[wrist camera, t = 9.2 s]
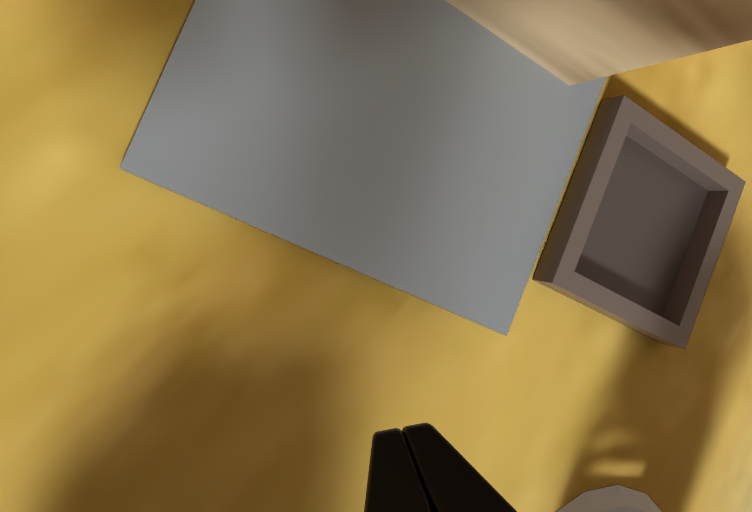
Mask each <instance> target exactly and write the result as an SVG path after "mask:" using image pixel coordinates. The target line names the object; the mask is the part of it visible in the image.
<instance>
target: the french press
mask: <svg viewBox="0 0 752 512" xmlns="http://www.w3.org/2000/svg"><path fill="white" fill-rule="evenodd" d="M557 512H662V511H661V510H660V509H659V508H658V507H657V506H656V504H655V503H654V502H653V501H652V500H651V499H650V498H649V496H648V495H647V494H645V493H642V492H639V491H636V490H633V489H630V488H626V487H623V486H620V485H614V486H609V487H605V488H600V489H596V490H591V491H586V492H583V493H582V494H581V495H579V496H578V497H576V498H575V499H574V500H572V501H571V502H569V503H568V504H566V505H565V506H564V507H562V508H561V509H559V510H558V511H557Z"/></svg>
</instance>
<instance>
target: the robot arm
mask: <svg viewBox="0 0 752 512" xmlns="http://www.w3.org/2000/svg"><path fill="white" fill-rule="evenodd" d="M364 512H517V511H516V510H515V509H514V508H513V507H512V506H511V505H510V504H509V503H508V502H507V501H506V500H505V499H504V498H503V497H502V496H501V495H500V494H499V493H498V492H497V491H496V490H495V489H494V488H493V487H492V486H491V485H490V484H489V483H488V482H487V481H486V480H485V479H484V478H483V477H482V476H481V475H480V474H479V473H478V472H477V470H476V469H475V468H474V467H473V466H472V465H471V464H470V463H469V462H468V461H467V460H466V459H465V458H464V457H463V456H462V455H461V454H460V453H459V452H458V451H457V450H456V449H455V448H454V447H453V446H452V445H451V444H450V443H449V442H448V441H447V440H446V439H445V438H444V437H443V436H442V435H441V434H440V433H439V432H438V431H437V430H436V429H435V428H434V427H433V426H432V425H431V424H428V423H421V424H416V425H410V426H406V427H404V428H403V429H402V431H401V430H400V429H398V428H394V429H389V430H383V431H378V432H375V433H374V435H373V439H372V447H371V456H370V464H369V473H368V482H367V490H366V499H365V508H364Z"/></svg>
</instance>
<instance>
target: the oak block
mask: <svg viewBox="0 0 752 512" xmlns="http://www.w3.org/2000/svg"><path fill="white" fill-rule="evenodd" d="M446 1H447V2H448V3H450V4H451V5H453V6H454V7H456V8H457V9H459V10H460V11H462V12H463V13H464V14H466V15H467V16H469V17H470V18H472V19H473V20H475V21H476V22H478V23H479V24H481V25H482V26H483V27H485V28H486V29H488V30H489V31H491V32H492V33H494V34H495V35H497V36H498V37H499V38H501V39H502V40H504V41H505V42H507V43H508V44H510V45H511V46H513V47H514V48H515V49H517V50H518V51H520V52H521V53H523V54H524V55H526V56H527V57H529V58H530V59H532V60H533V61H534V62H536V63H537V64H539V65H540V66H542V67H543V68H545V69H546V70H548V71H549V72H550V73H552V74H553V75H555V76H556V77H558V78H559V79H561V80H562V81H564V82H565V83H567V84H568V85H569V86H570V85H574V84H578V83H582V82H586V81H590V80H594V79H598V78H602V77H606V76H610V75H614V74H618V73H622V72H626V71H630V70H634V69H637V68H641V67H645V66H649V65H653V64H657V63H661V62H665V61H669V60H673V59H677V58H681V57H685V56H689V55H693V54H697V53H701V52H705V51H709V50H713V49H717V48H721V47H725V46H728V45H732V44H736V43H740V42H744V41H748V40H752V0H446Z"/></svg>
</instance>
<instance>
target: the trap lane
mask: <svg viewBox="0 0 752 512" xmlns="http://www.w3.org/2000/svg"><path fill="white" fill-rule="evenodd" d="M606 77H607V76H606ZM606 77H602V78H598V79H594V80H590V81H586V82H582V83H578V84H574V85H570V86H569V85H568V84H567V83H565V82H564V81H562V80H561V79H559V78H558V77H556V76H555V75H553V74H552V73H550V72H549V71H548V70H546V69H545V68H543V67H542V66H540V65H539V64H537V63H536V62H534V61H533V60H532V59H530V58H529V57H527V56H526V55H524V54H523V53H521V52H520V51H518V50H517V49H515V48H514V47H513V46H511V45H510V44H508V43H507V42H505V41H504V40H502V39H501V38H499V37H498V36H497V35H495V34H494V33H492V32H491V31H489V30H488V29H486V28H485V27H483V26H482V25H481V24H479V23H478V22H476V21H475V20H473V19H472V18H470V17H469V16H467V15H466V14H464V13H463V12H462V11H460V10H459V9H457V8H456V7H454V6H453V5H451V4H450V3H448V2H447V1H446V0H195V2H194V4H193V7H192V9H191V11H190V13H189V15H188V18H187V20H186V22H185V24H184V26H183V29H182V31H181V33H180V35H179V37H178V40H177V42H176V44H175V46H174V49H173V51H172V53H171V55H170V57H169V60H168V62H167V64H166V66H165V68H164V71H163V73H162V75H161V77H160V79H159V82H158V84H157V86H156V88H155V91H154V93H153V95H152V97H151V99H150V102H149V104H148V106H147V108H146V110H145V113H144V115H143V117H142V119H141V121H140V124H139V126H138V128H137V130H136V133H135V135H134V137H133V139H132V141H131V144H130V146H129V148H128V150H127V152H126V155H125V157H124V159H123V161H122V163H121V166H120V168H119V169H122V170H124V171H126V172H129V173H131V174H133V175H136V176H138V177H140V178H143V179H145V180H147V181H150V182H152V183H154V184H156V185H159V186H161V187H163V188H166V189H168V190H170V191H173V192H175V193H177V194H180V195H182V196H184V197H186V198H189V199H191V200H193V201H196V202H198V203H200V204H203V205H205V206H207V207H210V208H212V209H214V210H216V211H219V212H221V213H223V214H226V215H228V216H230V217H233V218H235V219H237V220H240V221H242V222H244V223H247V224H249V225H251V226H253V227H256V228H258V229H260V230H263V231H265V232H267V233H270V234H272V235H274V236H277V237H279V238H281V239H283V240H286V241H288V242H290V243H293V244H295V245H297V246H300V247H302V248H304V249H307V250H309V251H311V252H313V253H316V254H318V255H320V256H323V257H325V258H327V259H330V260H332V261H334V262H337V263H339V264H341V265H344V266H346V267H348V268H350V269H353V270H355V271H357V272H360V273H362V274H364V275H367V276H369V277H371V278H374V279H376V280H378V281H380V282H383V283H385V284H387V285H390V286H392V287H394V288H397V289H399V290H401V291H404V292H406V293H408V294H410V295H413V296H415V297H417V298H420V299H422V300H424V301H427V302H429V303H431V304H434V305H436V306H438V307H441V308H443V309H445V310H447V311H450V312H452V313H454V314H457V315H459V316H461V317H464V318H466V319H468V320H471V321H473V322H475V323H477V324H480V325H482V326H484V327H487V328H489V329H491V330H494V331H496V332H498V333H501V334H503V335H506V336H507V333H508V330H509V328H510V325H511V323H512V320H513V318H514V315H515V312H516V310H517V307H518V305H519V302H520V299H521V297H522V294H523V292H524V289H525V287H526V284H527V281H528V279H529V276H530V274H531V271H532V268H533V266H534V263H535V261H536V258H537V256H538V253H539V250H540V248H541V245H542V243H543V240H544V237H545V235H546V232H547V230H548V227H549V225H550V222H551V219H552V217H553V214H554V212H555V209H556V206H557V204H558V201H559V199H560V196H561V193H562V191H563V188H564V186H565V183H566V181H567V178H568V175H569V173H570V170H571V168H572V165H573V162H574V160H575V157H576V155H577V152H578V150H579V147H580V144H581V142H582V139H583V137H584V134H585V131H586V129H587V126H588V124H589V121H590V119H591V116H592V113H593V111H594V108H595V106H596V103H597V100H598V98H599V95H600V93H601V90H602V88H603V85H604V82H605V80H606ZM744 185H745V181H744V180H742V179H741V178H740V177H738V176H737V175H735V174H734V173H733V172H731V171H730V170H728V169H727V168H726V167H724V166H723V165H721V164H720V163H719V162H717V161H716V160H714V159H713V158H712V157H710V156H709V155H707V154H706V153H705V152H703V151H702V150H700V149H699V148H698V147H696V146H695V145H693V144H692V143H691V142H689V141H688V140H686V139H685V138H684V137H682V136H681V135H679V134H678V133H677V132H675V131H674V130H672V129H671V128H670V127H668V126H667V125H665V124H664V123H663V122H661V121H660V120H658V119H657V118H656V117H654V116H653V115H651V114H650V113H648V112H647V111H646V110H644V109H643V108H641V107H640V106H639V105H637V104H636V103H634V102H633V101H632V100H630V99H629V98H627V97H626V96H625V95H623V96H618V97H613V98H608V99H604V100H602V101H601V104H600V106H599V109H598V111H597V114H596V116H595V119H594V122H593V124H592V127H591V129H590V132H589V135H588V137H587V140H586V142H585V145H584V148H583V150H582V153H581V155H580V158H579V160H578V163H577V166H576V168H575V171H574V173H573V176H572V179H571V181H570V184H569V186H568V189H567V192H566V194H565V197H564V199H563V202H562V204H561V207H560V210H559V212H558V215H557V217H556V220H555V223H554V225H553V228H552V230H551V233H550V235H549V238H548V241H547V243H546V246H545V248H544V251H543V254H542V256H541V259H540V261H539V264H538V267H537V269H536V272H535V274H534V277H533V279H532V280H534V281H537V282H539V283H541V284H543V285H545V286H547V287H549V288H551V289H553V290H555V291H557V292H559V293H561V294H563V295H565V296H567V297H569V298H571V299H573V300H575V301H577V302H579V303H581V304H583V305H585V306H587V307H589V308H591V309H593V310H595V311H597V312H599V313H601V314H603V315H606V316H608V317H610V318H612V319H614V320H616V321H618V322H620V323H622V324H624V325H626V326H628V327H630V328H632V329H634V330H636V331H638V332H640V333H642V334H644V335H646V336H648V337H650V338H652V339H654V340H656V341H658V342H660V343H662V344H666V345H670V346H674V347H678V348H682V349H685V348H686V345H687V343H688V340H689V337H690V334H691V331H692V329H693V326H694V323H695V320H696V318H697V315H698V312H699V309H700V307H701V304H702V301H703V298H704V296H705V293H706V290H707V287H708V284H709V282H710V279H711V276H712V273H713V271H714V268H715V265H716V262H717V260H718V257H719V254H720V251H721V248H722V246H723V243H724V240H725V237H726V235H727V232H728V229H729V226H730V224H731V221H732V218H733V215H734V212H735V210H736V207H737V204H738V201H739V199H740V196H741V193H742V190H743V188H744Z"/></svg>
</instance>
